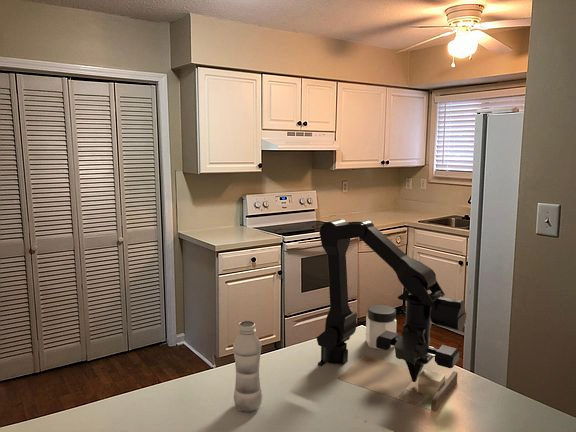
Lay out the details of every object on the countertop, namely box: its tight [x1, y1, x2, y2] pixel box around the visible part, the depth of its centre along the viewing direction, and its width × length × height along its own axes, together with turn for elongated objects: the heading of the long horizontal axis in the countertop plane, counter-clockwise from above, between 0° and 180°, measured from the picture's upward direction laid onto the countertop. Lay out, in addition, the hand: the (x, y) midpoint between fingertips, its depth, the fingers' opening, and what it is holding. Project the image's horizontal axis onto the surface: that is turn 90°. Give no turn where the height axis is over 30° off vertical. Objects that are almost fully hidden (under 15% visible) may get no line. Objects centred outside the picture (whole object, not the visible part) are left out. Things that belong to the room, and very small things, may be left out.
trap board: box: [336, 355, 459, 412], centre depth 117 cm, size 25×16×4 cm, turn 54°
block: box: [417, 368, 446, 396], centre depth 112 cm, size 5×4×4 cm
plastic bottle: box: [232, 320, 263, 413], centre depth 106 cm, size 6×7×20 cm
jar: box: [365, 304, 397, 351], centre depth 138 cm, size 9×8×12 cm
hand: (414, 381), depth 114 cm, fingers closed
